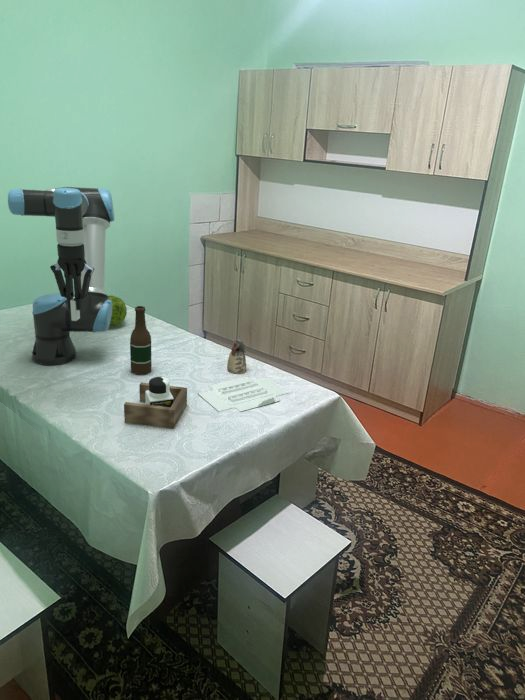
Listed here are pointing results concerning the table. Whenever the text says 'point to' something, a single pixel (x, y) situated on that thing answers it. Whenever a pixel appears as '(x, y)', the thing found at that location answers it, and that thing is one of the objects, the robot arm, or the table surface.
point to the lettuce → (117, 311)
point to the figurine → (237, 358)
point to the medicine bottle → (159, 392)
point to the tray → (243, 394)
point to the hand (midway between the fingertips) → (75, 319)
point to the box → (156, 409)
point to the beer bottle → (140, 345)
